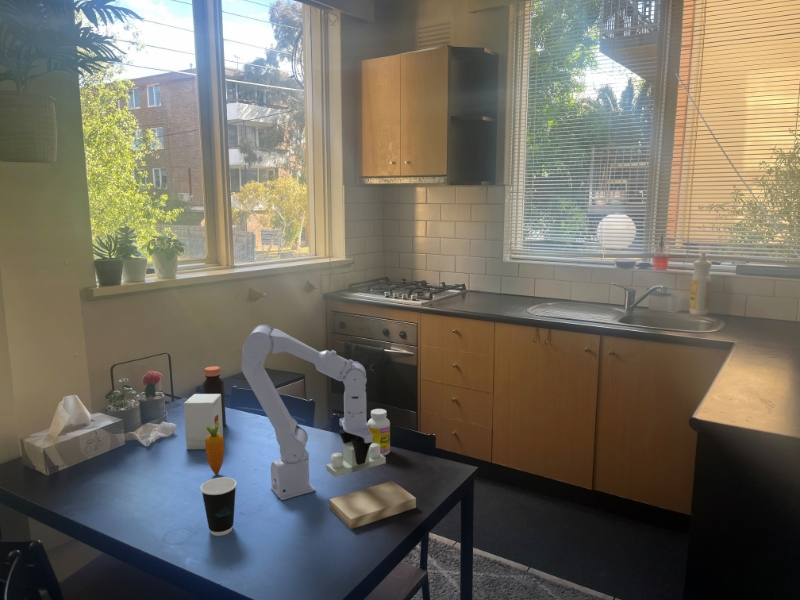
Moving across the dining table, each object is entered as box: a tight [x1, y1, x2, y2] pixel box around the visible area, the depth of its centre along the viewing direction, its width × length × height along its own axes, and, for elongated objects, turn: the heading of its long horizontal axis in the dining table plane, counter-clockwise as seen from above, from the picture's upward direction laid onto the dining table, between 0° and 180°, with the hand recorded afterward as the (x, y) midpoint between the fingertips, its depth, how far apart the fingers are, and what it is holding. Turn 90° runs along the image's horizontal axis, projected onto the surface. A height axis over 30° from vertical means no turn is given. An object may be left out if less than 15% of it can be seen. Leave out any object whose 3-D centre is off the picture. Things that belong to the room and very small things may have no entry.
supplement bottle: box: [367, 408, 391, 457], centre depth 177 cm, size 7×7×13 cm
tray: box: [325, 442, 387, 478], centre depth 155 cm, size 15×5×6 cm, turn 123°
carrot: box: [205, 421, 225, 476], centre depth 163 cm, size 5×5×15 cm
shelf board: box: [328, 480, 417, 530], centre depth 145 cm, size 18×11×2 cm, turn 123°
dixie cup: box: [199, 476, 238, 537], centre depth 135 cm, size 8×8×11 cm
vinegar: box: [202, 365, 227, 427], centre depth 198 cm, size 7×7×20 cm
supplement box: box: [183, 393, 224, 450], centre depth 184 cm, size 9×9×15 cm
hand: (355, 459), depth 155 cm, fingers closed on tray, 5 cm apart
